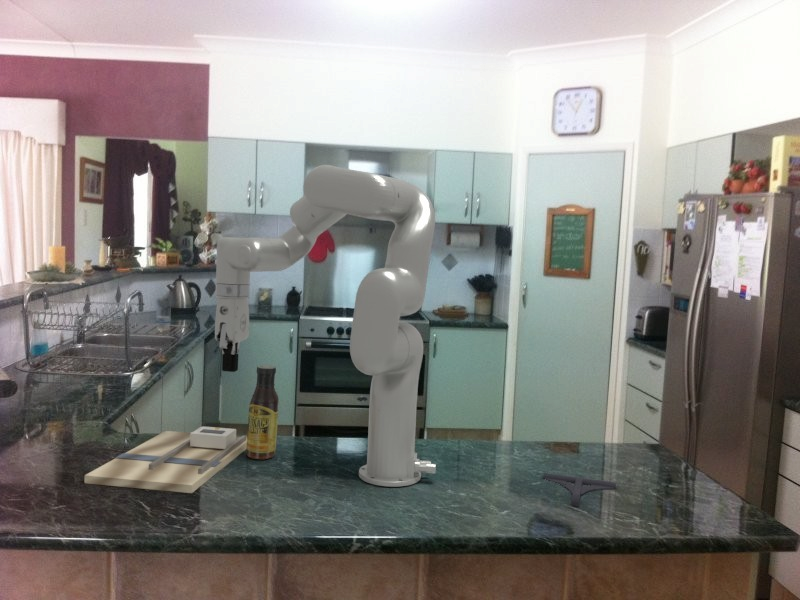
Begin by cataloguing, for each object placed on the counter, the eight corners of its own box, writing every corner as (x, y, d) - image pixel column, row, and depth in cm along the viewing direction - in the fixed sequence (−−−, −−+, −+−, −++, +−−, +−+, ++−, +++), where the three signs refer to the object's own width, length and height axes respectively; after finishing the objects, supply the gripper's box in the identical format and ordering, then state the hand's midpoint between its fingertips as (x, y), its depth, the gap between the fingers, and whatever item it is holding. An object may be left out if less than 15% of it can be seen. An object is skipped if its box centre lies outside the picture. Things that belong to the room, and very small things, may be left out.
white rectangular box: (201, 438, 150) (202, 425, 150) (236, 441, 149) (236, 428, 149) (190, 446, 144) (190, 432, 144) (225, 449, 143) (226, 435, 143)
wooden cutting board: (252, 444, 154) (252, 433, 154) (191, 493, 123) (191, 479, 122) (165, 437, 157) (165, 426, 157) (84, 483, 125) (84, 470, 125)
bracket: (535, 504, 127) (536, 490, 126) (543, 479, 141) (544, 466, 141) (615, 517, 122) (616, 502, 122) (615, 490, 136) (616, 476, 136)
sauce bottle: (240, 458, 144) (243, 366, 143) (257, 450, 150) (259, 362, 148) (266, 463, 142) (269, 369, 140) (282, 455, 147) (285, 365, 146)
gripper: (236, 294, 146) (233, 378, 147) (259, 290, 160) (256, 366, 162) (203, 292, 146) (200, 375, 148) (229, 288, 161) (226, 364, 163)
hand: (229, 370), depth 155 cm, fingers closed
